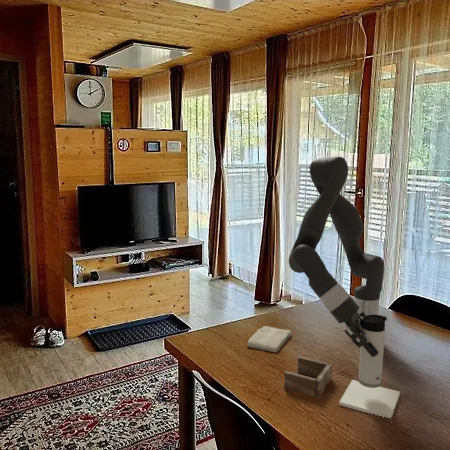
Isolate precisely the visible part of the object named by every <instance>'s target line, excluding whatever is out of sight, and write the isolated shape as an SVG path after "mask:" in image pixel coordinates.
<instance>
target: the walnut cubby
mask: <svg viewBox="0 0 450 450" xmlns="http://www.w3.org/2000/svg"><path fill="white" fill-rule="evenodd" d="M332 372H333V364H332V363H331V362H324V361H321V360H316V359H313V358H309V357H304V356H300V355H299V356H298V357H297V373H296V372H291V371H288V370H285V372H284V379H283V380H284V381H283V382H284V383H283V384H284V385H283V386H284V389H285V390H291V391H294V392H296V393H297V392H298V393H301V394H304V395H308V396H312V397H316V398H320V397H321V395H322V394H323V392H324V390H326V388H327V386H328V384H329V383H330V382H331V380H332ZM299 373H300V374H299ZM303 374H304V375H303ZM306 375H308V376H306ZM314 377H315V378H314Z"/></svg>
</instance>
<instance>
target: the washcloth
mask: <svg viewBox="0 0 450 450" xmlns="http://www.w3.org/2000/svg"><path fill="white" fill-rule="evenodd" d="M291 337H292V331H291V330H289V329H282V328H277V327H274V326H269V325H264V326H262V327H261V328H258V329H257V331H256V332H255V333H254V334H253V335H252V336H251V337H250V338H249V339H248V341H247V344H246V346H247V347H249V348H252V349H257V350H262V351H265V352H270V353H278V352H279V351H280V349H281V348H282V347H283V346H284V344H286V342H287V341H288V340H289V339H290V338H291Z"/></svg>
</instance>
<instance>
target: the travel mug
mask: <svg viewBox="0 0 450 450" xmlns="http://www.w3.org/2000/svg"><path fill="white" fill-rule="evenodd" d="M386 322H388V318H387V316H385V315H381V314H379V315H367V316H364V317H363V319H362V324H363V325H362V326H363V329H364V331H365V332H366V336H367V338H368V339H369V341H370V342H371V343H372V345H373V346H374V347H375V348H376V349H377V351H378V352H379V353H378V355H376V356H374V357H372V356H371V355H370V354H369V353H368V352H367V350H366V349H365V348H364V347H362V346H361V347H359V361H358V363H359V364H358V365H359V366H358V380H357V381H359V383H360V384H361V385H363V386H365V387H369V388H377V387H381V386H382V379H383V378H382V377H383V366H384V365H383V363H384V348H385V335H386V327H385V326H386ZM363 338H364V337H363Z"/></svg>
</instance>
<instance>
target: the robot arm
mask: <svg viewBox="0 0 450 450" xmlns="http://www.w3.org/2000/svg"><path fill="white" fill-rule="evenodd" d="M309 165H310V166H309V174H310V175H309V176H310V178H311V181H312V183H313V185H314V188H315V189H316V191H317V192H318V194H319V196H318V198H317V199H316V200H315V201H314V202H313V203H311V205H310V206H309V207H308V209H307V210H306V212H305V214H304V215H303V218H302V221H301V224H300V227H299V229H298V234H297V237H296V240H295V242H294V244H293V246H292V249H291V252H290V254H289V257H288V265H289V268H290V269H291V270H292V271H293V272H295V273H297V274H303V273H304V274H305V277H307V279H308V286H309V287H310V288H311V290H312V291H313V292H314V294H316V296H317V297H318V298H319V300H320V301H321V303H322V305H323V306H324V307H325V308H326V309H327V311H328V312H329V313H330V314H331V316H332V317H333V318H334V319H335V320H336V322H337V323H338V324H342V323H344V324H345V325H346V327H347V328H346V329H344V332H345V334H346V335H347V336H348V337H349V338H350V339H351V341H352V342H353V343H354V344H355V345H356V346H357V347H358V348H360V347H361V346H362V347H364V348H365V349H366V350H367V352H368V353H369V354H370V355H371V356H372V357H374V356H376V355H378V353H379V352H378V351H377V349H376V348H375V347H374V346H373V345H372V343H371V342H370V341H369V339H368V338H367V336H366V332H365V331H364V329H363V326H362V325H363V324H362V319H363V317H364V316H367V315H380V302H381V299H380V298H381V294H382V293H381V292H382V290H383V282H384V275H385V262H384V259H383V258H382V257H381V256H379V255H375V254H371V253H365V252H364V250H363V249H362V246H361V243H360V241H361V238H362V235H363V231H364V223H363V220H362V217H361V215H360V212H359V210H358V209H357V208H356V206H355V205H354V204H353V203H351V202H350V201H349V199H347V198H346V197H345V196H343V195H342V194H341V191H342V190H343V187H344V186H345V183H346V181H347V179H348V176H349V166H348V162H347V160H346V159H345V158H344V157H342V156H330V157H319V158H316V159H313V160H312V161H311V163H310V164H309ZM329 216H330V219H331V220H332V224H333V226H334V229H335V231H336V232H337V234H338V235H337V236H338V237H339V239H340V242H341V245H342V247H343V250H344V252H345V255H346V259H347V262H348V266H349V269H350V271H351V273H352V274H353V275H354V276H356V277H357V278H360V279H361V278H362V279H365V284H364V285H359V286H356V287H355V288H354V289H353V298H352V297H351V295H350V294H349V293H348V292H347V290H346V289H345V288H344V287H343V286H342V285H341V284H340V283H339V282H338V281H337V280H336V278H335V277H334V276H333V275H332V274H331V273H330V272H329V270H328V268H327V267H326V265H325V263H324V261H323V260H322V258H321V257H320V255H319V253H318V252H317V251H316V249H317V246H318V244H319V243H320V241H321V240H322V237H323V233H324V230H325V227H326V224H327V221H328V218H329ZM363 337H364V338H363Z"/></svg>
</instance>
